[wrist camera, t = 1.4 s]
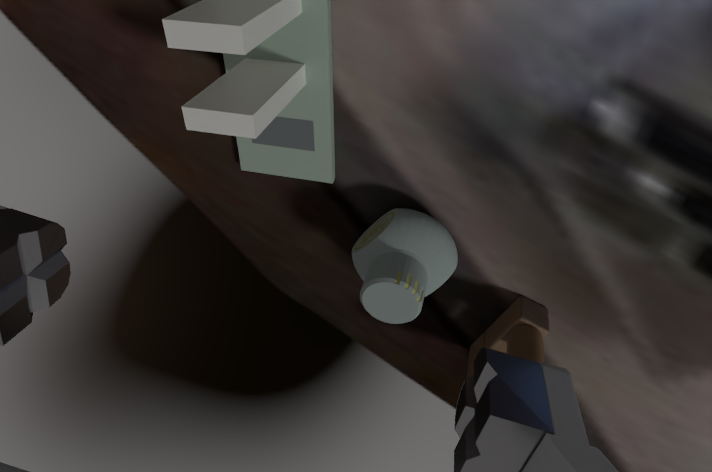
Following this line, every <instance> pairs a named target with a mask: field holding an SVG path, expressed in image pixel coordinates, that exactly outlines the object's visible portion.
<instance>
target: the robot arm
mask: <svg viewBox="0 0 712 472" xmlns="http://www.w3.org/2000/svg"><path fill="white" fill-rule="evenodd" d="M66 244H67V241H66V234H65V229H64V228H63V227H62V226H60V225H59V224H58V223H55V222H52V221H49V220H46V219H43V218H39V217H36V216H33V215H30V214H27V213H23V212H20V211H17V210H14V209H9V208H6V207H3V206H0V345H2V346H4V345H5V344H6V343H7V342H9V341H10V340H11V339H12V338H13V337H15V336H16V335H17V334H18V333H19V332H21V331H22V330H23V329H24V328H25V327H27V326H28V325H29V324H30V323H31V322H32V316H33V312H36V311H39V310H43V309H46V308H49V307H50V306H51V305H53V304H54V303H55V302H56V301H57V300H58V299H60V298H61V296H62V294H63V292H64V291H65V289H66V287H67V286H68V283H69V277H70V263H69V261H68V260H67V258H66V257H65V256H64V254H63V253H62V251H61V250H62V249H63V247H64V246H65V245H66ZM455 431H456V432H457V434H458V435H459V437H460V440H459V442H458V444H457V446H456V448H455V450H454V472H618V471H617V470H616V469H615V467H614V466H613V465H612V464H611V463H610V462H609V461H608V459H607V458H606V457H605V456H604V455H603V454H602V453H601V451H600V450H599V449H598V448H595V447H591V446H589V443H588V439H587V436H586V432H585V428H584V424H583V420H582V417H581V413H580V409H579V405H578V402H577V398H576V394H575V390H574V387H573V383H572V379H571V375H570V373H569V372H568V370H567V369H565V368H561V367H557V366H554V365H550V364H546V363H542V362H539V361H538V362H535V361H532V360H529V359H525V358H522V357H518V356H515V355H511V354H508V353H504V352H501V351H497V350H493V349H490V348H486V347H482V348H481V349H480V351H479V352H478V354H477V356H476V358H475V360H474V375H473V376H471V377H469V378H467V379H466V380H465V382H464V384H463V387H462V389H461V392H460V395H459V399H458V403H457V407H456V415H455ZM0 472H29V471H26V470H23V469H19V468H17V467H13V466H10V465H7V464H4V463H1V462H0Z"/></svg>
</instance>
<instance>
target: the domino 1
mask: <svg viewBox="0 0 712 472" xmlns="http://www.w3.org/2000/svg"><path fill="white" fill-rule="evenodd" d="M301 13H302V4H301V0H202V1H200V2H198V3H195V4H193V5H191V6H189V7H187V8H185V9H183V10H181V11H178V12H176V13H174V14H172V15H170V16H168V17H166V18H164V19H162V22H163V27H164V31H165V36H166V40H167V45H168V48H177V49H187V50H198V51H208V52H218V53H228V54H238V55H246V54H247V53H248V52H250V51H251V50H252V49H254V48H255V47H256V46H258V45H259V44H260V43H262V42H263V41H265V40H266V39H267V38H269V37H270V36H271V35H273V34H274V33H275V32H277V31H278V30H279V29H281V28H282V27H283V26H285V25H286V24H287V23H289V22H290V21H291V20H293V19H294V18H295V17H297V16H298V15H300V14H301Z"/></svg>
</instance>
